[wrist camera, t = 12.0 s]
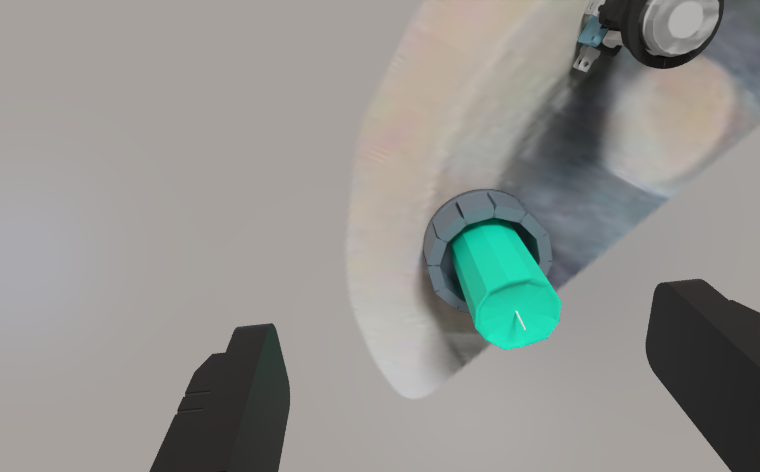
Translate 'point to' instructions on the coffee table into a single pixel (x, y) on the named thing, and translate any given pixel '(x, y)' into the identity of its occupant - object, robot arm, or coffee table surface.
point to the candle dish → (473, 210)
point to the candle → (503, 285)
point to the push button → (649, 30)
